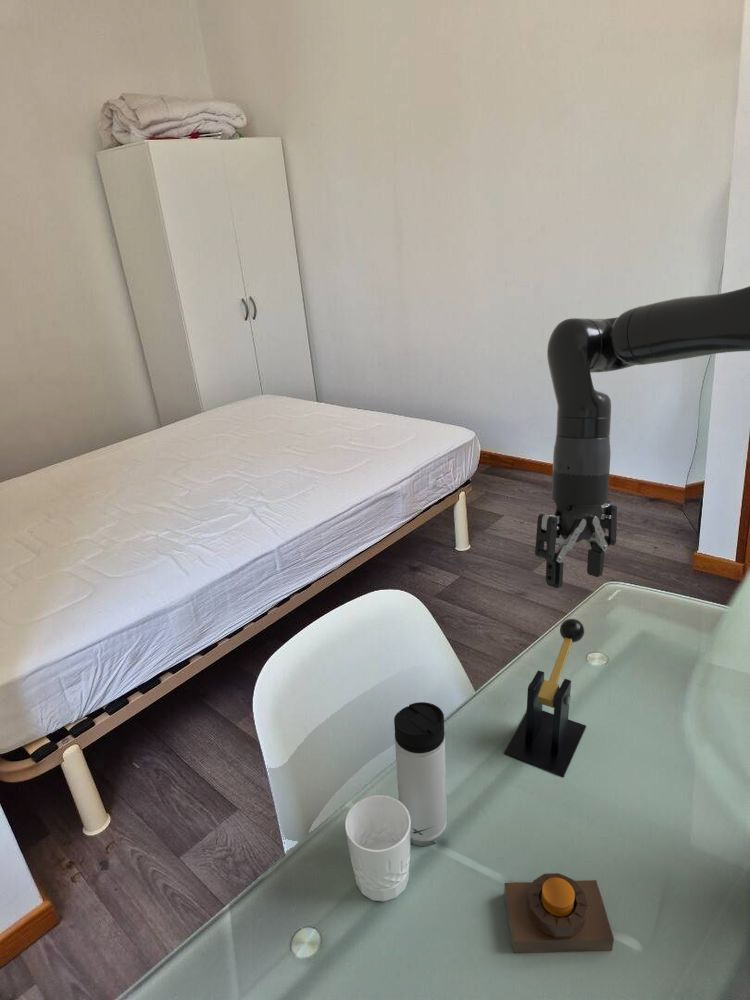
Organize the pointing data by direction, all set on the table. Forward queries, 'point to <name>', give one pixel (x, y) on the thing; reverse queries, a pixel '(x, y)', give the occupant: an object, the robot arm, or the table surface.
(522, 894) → the switch plate
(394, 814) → the white cup
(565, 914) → the button
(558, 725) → the switch bracket
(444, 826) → the travel mug
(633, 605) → the table surface
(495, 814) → the table surface
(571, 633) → the switch lever
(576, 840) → the table surface
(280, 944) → the table surface
